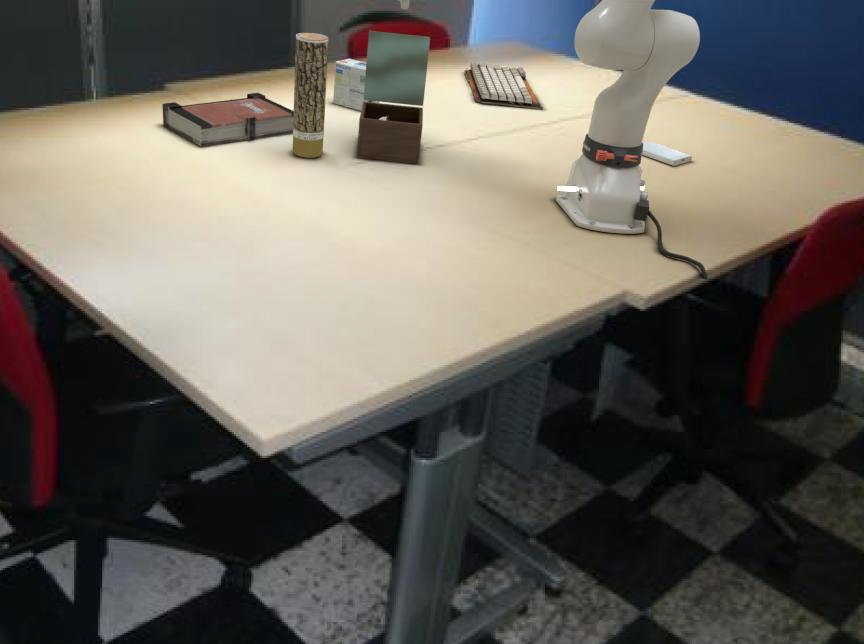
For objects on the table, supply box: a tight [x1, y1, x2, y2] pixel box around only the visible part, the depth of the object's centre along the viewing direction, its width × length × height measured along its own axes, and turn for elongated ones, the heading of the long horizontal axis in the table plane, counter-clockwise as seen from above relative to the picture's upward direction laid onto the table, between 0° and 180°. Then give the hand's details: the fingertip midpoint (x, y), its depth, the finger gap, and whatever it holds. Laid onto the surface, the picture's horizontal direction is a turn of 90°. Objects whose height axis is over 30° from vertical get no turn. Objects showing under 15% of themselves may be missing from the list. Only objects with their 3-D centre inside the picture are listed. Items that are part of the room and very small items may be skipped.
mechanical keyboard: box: [463, 61, 543, 110], centre depth 267 cm, size 38×19×3 cm, turn 2°
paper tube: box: [292, 32, 329, 159], centre depth 195 cm, size 7×7×25 cm
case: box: [356, 102, 424, 165], centre depth 207 cm, size 14×14×9 cm
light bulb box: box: [332, 58, 380, 112], centre depth 235 cm, size 11×7×11 cm, turn 58°
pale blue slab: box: [363, 30, 431, 107], centre depth 208 cm, size 15×14×1 cm
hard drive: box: [642, 140, 693, 167], centre depth 226 cm, size 2×8×12 cm
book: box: [161, 92, 294, 148], centre depth 210 cm, size 26×18×5 cm
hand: (401, 4), depth 199 cm, fingers open, 8 cm apart
